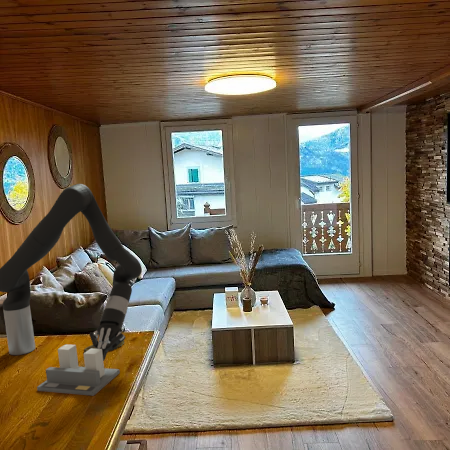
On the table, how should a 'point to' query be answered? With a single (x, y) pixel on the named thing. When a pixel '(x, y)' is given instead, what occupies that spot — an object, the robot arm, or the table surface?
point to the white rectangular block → (68, 357)
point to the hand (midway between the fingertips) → (99, 361)
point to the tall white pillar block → (94, 360)
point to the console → (76, 380)
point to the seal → (96, 348)
